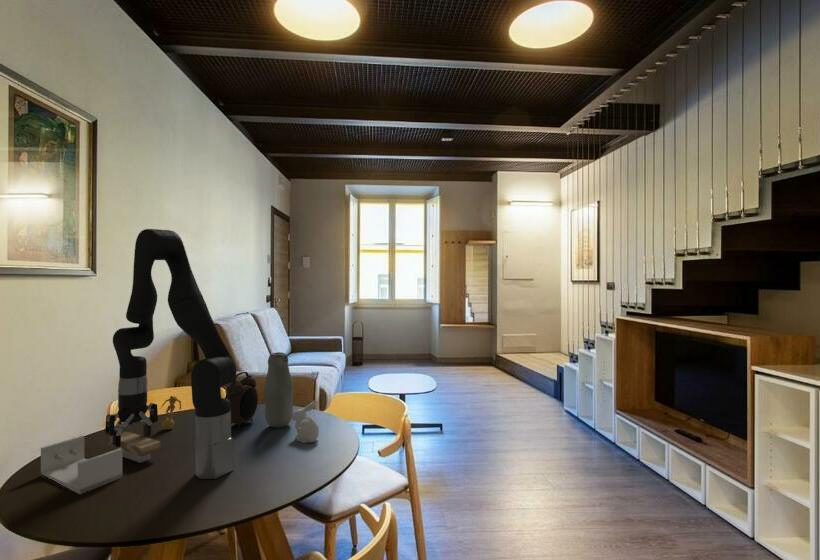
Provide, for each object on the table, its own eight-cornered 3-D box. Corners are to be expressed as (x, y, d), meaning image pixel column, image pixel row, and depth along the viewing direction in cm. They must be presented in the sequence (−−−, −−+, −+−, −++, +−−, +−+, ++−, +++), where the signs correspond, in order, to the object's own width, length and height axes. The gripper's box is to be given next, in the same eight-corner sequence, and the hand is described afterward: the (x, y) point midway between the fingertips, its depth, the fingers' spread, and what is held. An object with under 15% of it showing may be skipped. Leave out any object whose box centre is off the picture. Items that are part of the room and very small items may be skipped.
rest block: (150, 458, 125) (150, 449, 125) (140, 462, 122) (140, 453, 122) (128, 451, 130) (128, 442, 130) (118, 455, 127) (118, 445, 127)
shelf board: (160, 449, 124) (160, 441, 124) (141, 456, 119) (141, 448, 119) (127, 439, 133) (127, 431, 132) (108, 445, 128) (108, 437, 128)
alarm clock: (238, 432, 146) (238, 377, 146) (221, 431, 147) (221, 376, 147) (261, 418, 160) (261, 368, 160) (245, 417, 162) (244, 368, 162)
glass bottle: (295, 421, 157) (295, 350, 157) (288, 431, 147) (288, 355, 147) (269, 421, 157) (269, 350, 157) (261, 431, 147) (260, 355, 147)
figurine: (153, 430, 148) (153, 398, 148) (165, 425, 154) (165, 393, 154) (174, 431, 147) (174, 399, 147) (185, 426, 153) (185, 394, 153)
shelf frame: (122, 477, 113) (122, 449, 113) (80, 494, 104) (80, 463, 104) (82, 461, 123) (82, 435, 123) (40, 475, 114) (40, 447, 114)
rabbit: (289, 436, 142) (289, 403, 142) (314, 430, 148) (313, 397, 148) (304, 447, 132) (304, 411, 132) (329, 440, 138) (329, 405, 138)
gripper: (114, 398, 118) (113, 453, 118) (163, 386, 130) (162, 436, 130) (100, 394, 121) (100, 448, 121) (149, 383, 134) (148, 432, 134)
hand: (132, 441), depth 126 cm, fingers open, 8 cm apart
